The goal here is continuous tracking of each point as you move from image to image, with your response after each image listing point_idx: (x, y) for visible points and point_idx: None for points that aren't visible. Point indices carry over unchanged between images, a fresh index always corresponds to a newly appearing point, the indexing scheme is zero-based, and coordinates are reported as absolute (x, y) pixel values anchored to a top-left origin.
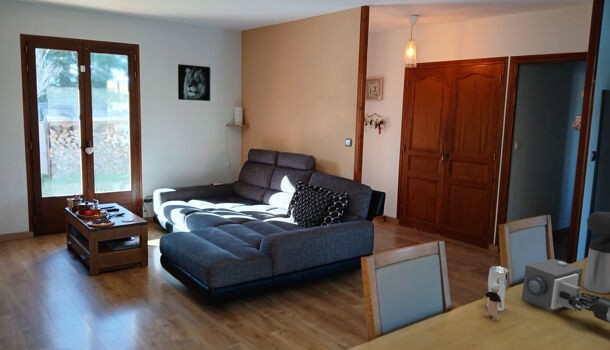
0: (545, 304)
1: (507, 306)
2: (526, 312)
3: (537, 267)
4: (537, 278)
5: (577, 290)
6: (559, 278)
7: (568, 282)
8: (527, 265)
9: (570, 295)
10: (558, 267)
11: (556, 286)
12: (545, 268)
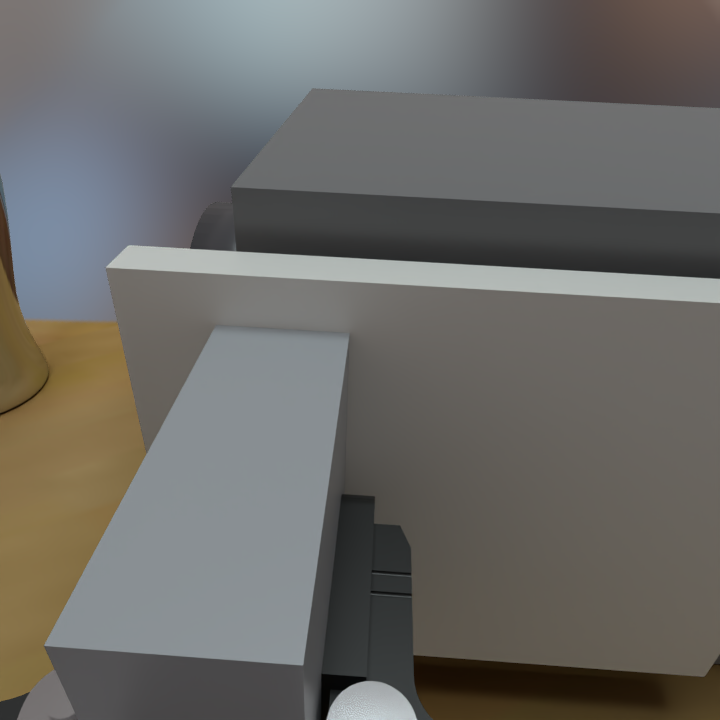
0: None
1: (76, 408)
2: (47, 517)
3: (355, 109)
4: (202, 220)
5: (141, 701)
6: (282, 257)
7: (533, 391)
8: (315, 91)
9: (49, 679)
10: (662, 151)
11: (133, 375)
12: (417, 126)
